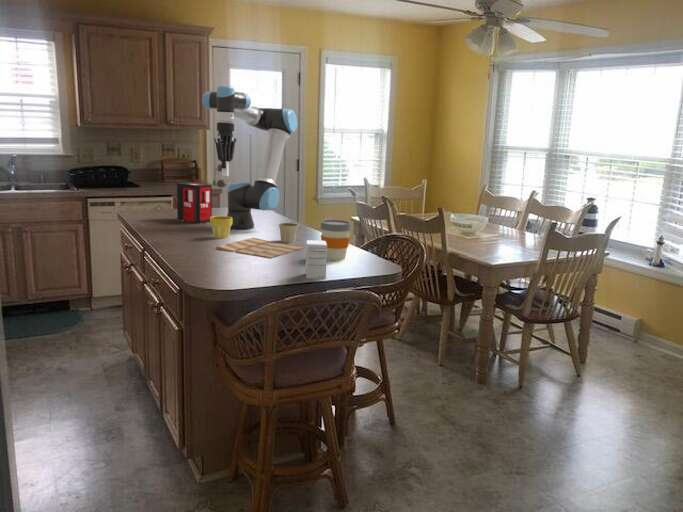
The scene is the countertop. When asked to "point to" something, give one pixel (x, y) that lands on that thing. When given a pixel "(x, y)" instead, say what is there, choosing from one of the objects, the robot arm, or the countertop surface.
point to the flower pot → (288, 232)
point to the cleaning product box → (194, 202)
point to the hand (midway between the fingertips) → (225, 175)
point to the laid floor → (270, 250)
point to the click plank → (241, 244)
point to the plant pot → (221, 226)
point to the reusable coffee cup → (336, 238)
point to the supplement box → (316, 259)
